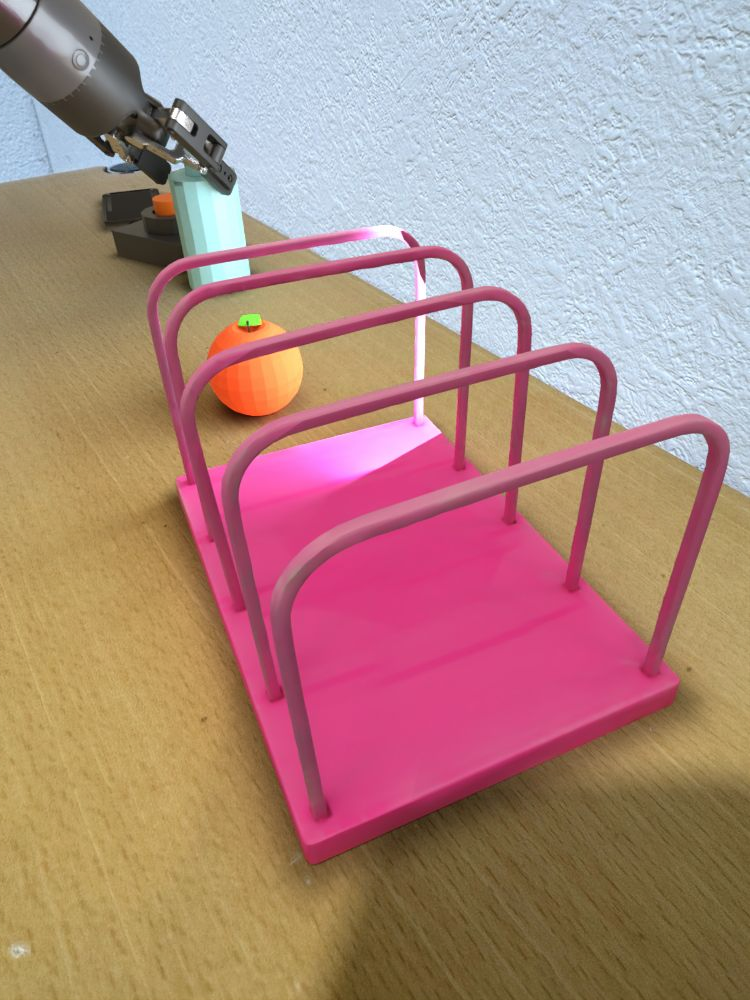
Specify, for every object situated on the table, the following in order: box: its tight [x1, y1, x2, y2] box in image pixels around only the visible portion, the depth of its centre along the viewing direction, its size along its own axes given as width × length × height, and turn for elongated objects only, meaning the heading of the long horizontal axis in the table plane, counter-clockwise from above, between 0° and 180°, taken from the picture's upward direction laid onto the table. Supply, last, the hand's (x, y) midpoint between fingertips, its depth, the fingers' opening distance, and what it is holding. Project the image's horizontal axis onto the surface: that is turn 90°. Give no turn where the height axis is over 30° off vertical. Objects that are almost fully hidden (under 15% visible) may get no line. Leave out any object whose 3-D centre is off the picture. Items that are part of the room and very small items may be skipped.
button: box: [152, 192, 175, 216], centre depth 78 cm, size 4×4×2 cm
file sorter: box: [146, 224, 731, 866], centre depth 33 cm, size 17×25×16 cm
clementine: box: [206, 313, 304, 417], centre depth 51 cm, size 8×7×7 cm
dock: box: [111, 206, 187, 273], centre depth 80 cm, size 11×9×5 cm
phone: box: [101, 187, 161, 231], centre depth 94 cm, size 8×1×15 cm
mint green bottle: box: [167, 139, 251, 291], centre depth 68 cm, size 6×6×14 cm
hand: (197, 181), depth 66 cm, fingers open, 8 cm apart
